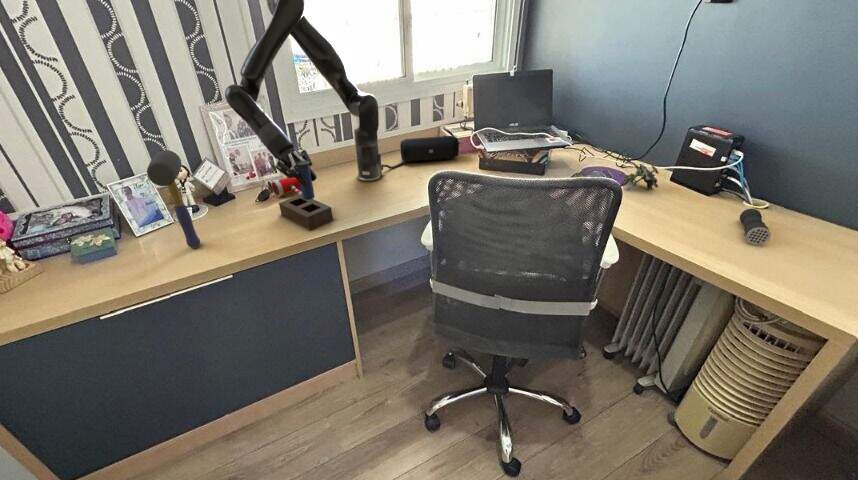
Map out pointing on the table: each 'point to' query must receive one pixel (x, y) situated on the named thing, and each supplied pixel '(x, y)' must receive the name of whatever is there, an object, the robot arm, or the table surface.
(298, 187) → the toy hammer
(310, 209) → the holder
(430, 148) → the portable speaker
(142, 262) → the table surface
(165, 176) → the rubber mallet
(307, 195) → the handle
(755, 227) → the flashlight
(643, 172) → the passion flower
